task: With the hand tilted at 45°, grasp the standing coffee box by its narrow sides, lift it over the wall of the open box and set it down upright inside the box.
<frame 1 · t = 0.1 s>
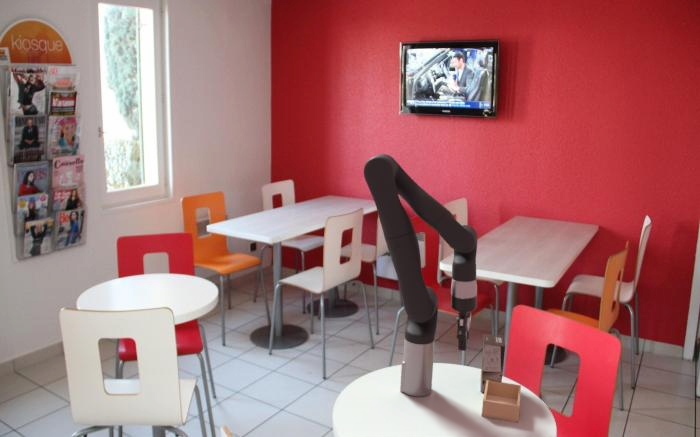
hand: (463, 344, 190), 17 cm above the table, tool pointing down, fingers open, 8 cm apart
coffee box: (490, 387, 201), on the table
open box: (501, 408, 188), on the table
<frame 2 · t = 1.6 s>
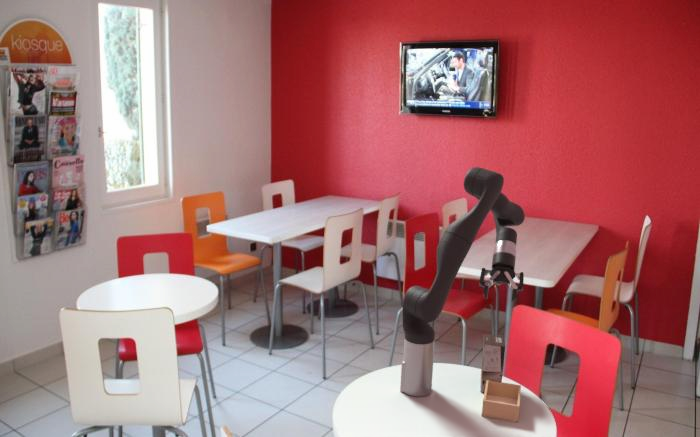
hand: (499, 299, 207), 25 cm above the table, tool tilted 45°, fingers open, 8 cm apart
nothing on the table moved.
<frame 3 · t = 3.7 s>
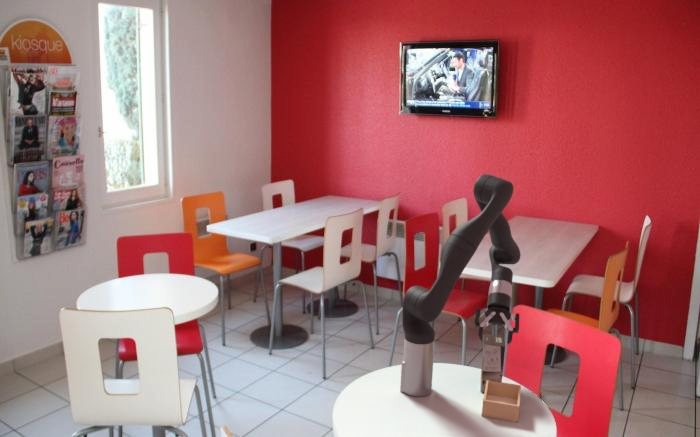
hand: (494, 341, 204), 13 cm above the table, tool tilted 45°, fingers open, 8 cm apart
nothing on the table moved.
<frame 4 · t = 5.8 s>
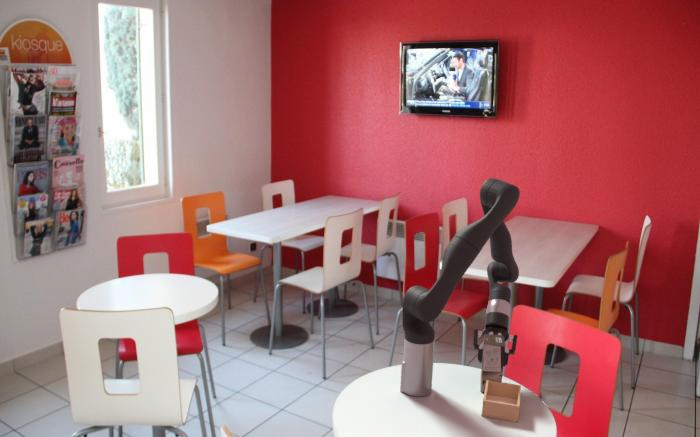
hand: (492, 363, 199), 8 cm above the table, tool tilted 45°, fingers closed on coffee box, 6 cm apart
coffee box: (490, 387, 201), on the table, touching gripper
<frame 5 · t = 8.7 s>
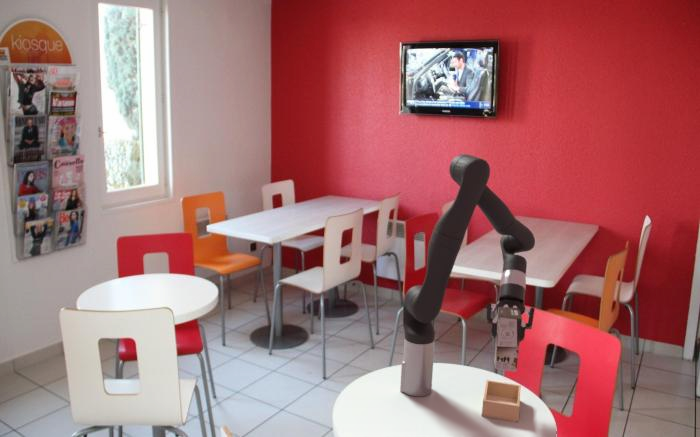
hand: (507, 338, 183), 22 cm above the table, tool tilted 45°, fingers closed on coffee box, 6 cm apart
coffee box: (505, 364, 185), point 14 cm above the table, touching gripper
when the fingers open (10 cm above the table, at t = 12.1 s): coffee box drops 1 cm, resting on open box.
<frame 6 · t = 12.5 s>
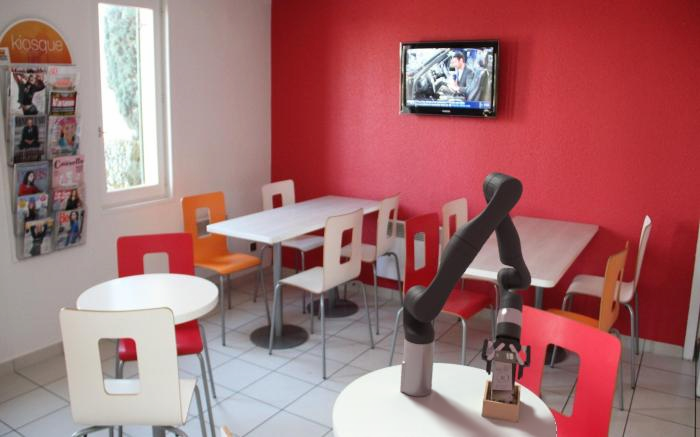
hand: (503, 376, 186), 10 cm above the table, tool tilted 45°, fingers open, 8 cm apart
coffee box: (501, 406, 188), resting on open box
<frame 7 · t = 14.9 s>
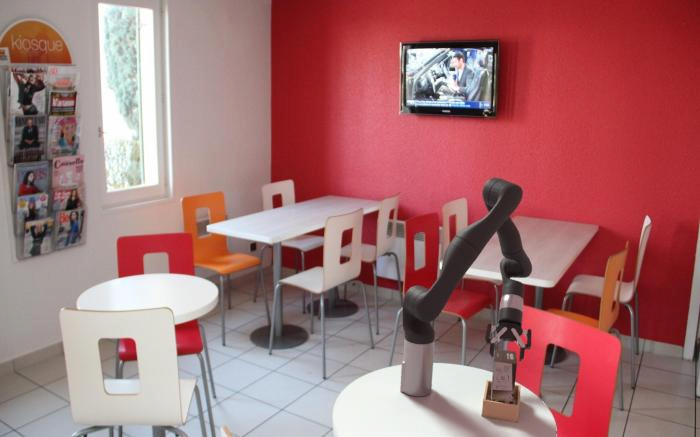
hand: (506, 358, 198), 10 cm above the table, tool tilted 45°, fingers open, 8 cm apart
nothing on the table moved.
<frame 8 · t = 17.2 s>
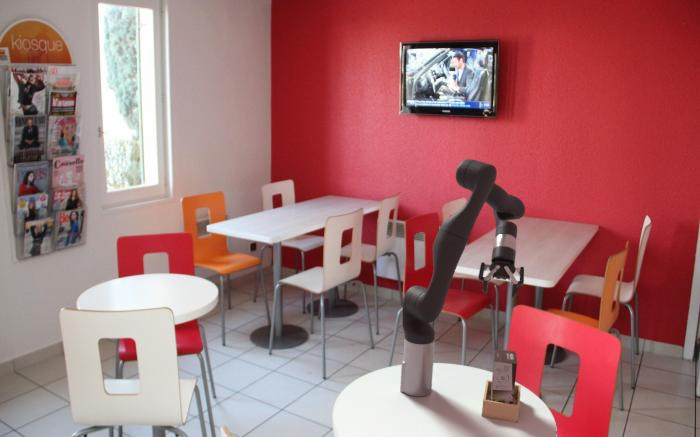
hand: (499, 294, 201), 29 cm above the table, tool tilted 45°, fingers open, 8 cm apart
nothing on the table moved.
at the end: coffee box inside the target area on the open box (0.3 cm from its centre), point 0.3 cm above the open box's base; coffee box tilted 0°; the gripper is holding nothing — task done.
